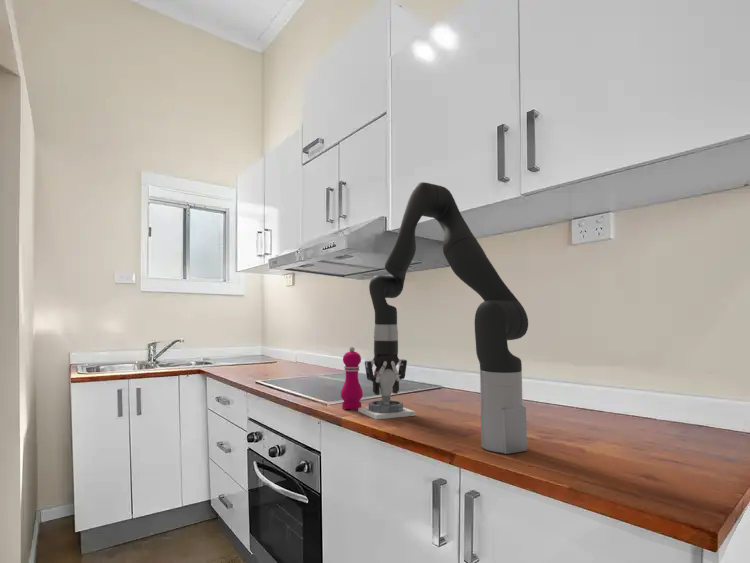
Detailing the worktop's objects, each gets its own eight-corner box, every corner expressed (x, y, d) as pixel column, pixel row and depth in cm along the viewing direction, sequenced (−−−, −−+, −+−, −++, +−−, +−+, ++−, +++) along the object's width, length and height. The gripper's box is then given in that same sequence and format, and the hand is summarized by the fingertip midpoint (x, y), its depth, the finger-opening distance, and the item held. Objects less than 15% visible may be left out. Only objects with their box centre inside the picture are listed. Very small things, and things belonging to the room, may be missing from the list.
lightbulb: (394, 405, 140) (394, 368, 141) (374, 405, 141) (374, 368, 142) (397, 402, 146) (397, 366, 147) (378, 401, 147) (378, 366, 148)
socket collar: (409, 411, 141) (409, 404, 141) (378, 414, 136) (378, 407, 137) (393, 405, 150) (393, 399, 151) (363, 408, 146) (363, 401, 146)
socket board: (414, 415, 140) (414, 411, 140) (376, 419, 135) (376, 415, 135) (394, 408, 152) (394, 404, 152) (358, 411, 146) (358, 407, 146)
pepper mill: (359, 405, 157) (359, 345, 159) (365, 409, 150) (365, 347, 152) (338, 406, 155) (338, 346, 156) (343, 410, 148) (344, 347, 149)
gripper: (370, 340, 139) (370, 397, 137) (411, 339, 145) (412, 394, 143) (360, 339, 145) (360, 393, 144) (400, 338, 152) (400, 390, 150)
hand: (386, 393), depth 144 cm, fingers closed on lightbulb, 5 cm apart
